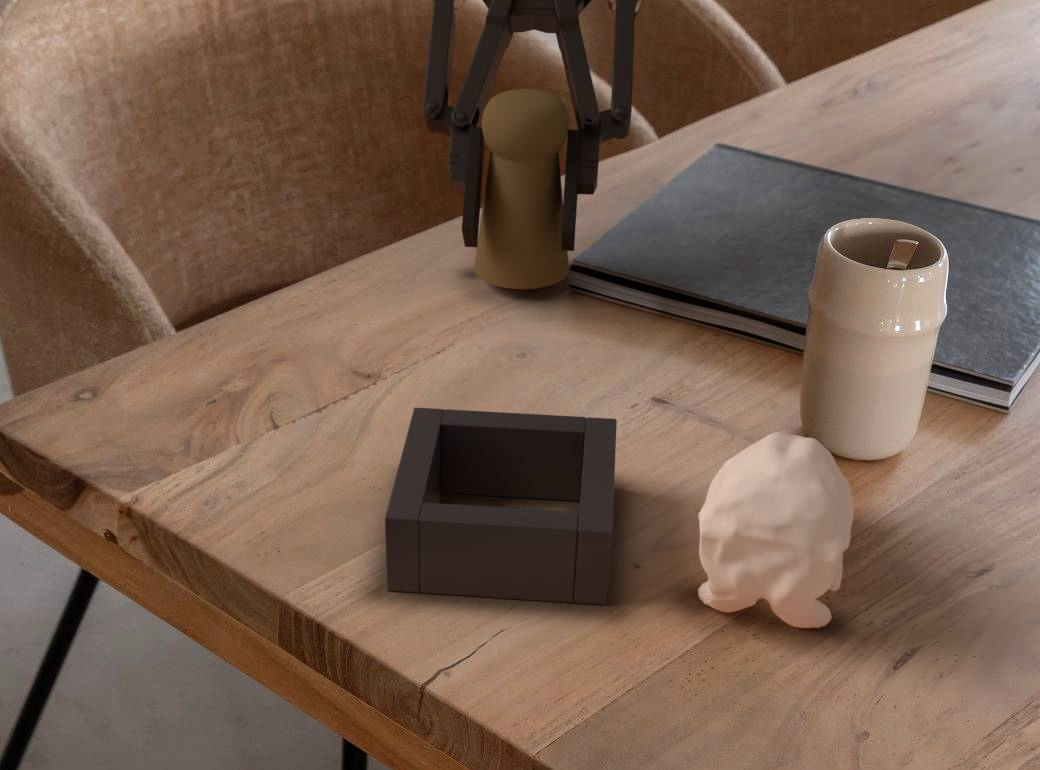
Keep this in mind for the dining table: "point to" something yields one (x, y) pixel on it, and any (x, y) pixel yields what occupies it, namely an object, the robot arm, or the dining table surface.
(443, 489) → the socket base
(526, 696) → the dining table surface
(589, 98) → the robot arm
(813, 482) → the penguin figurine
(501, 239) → the cork
